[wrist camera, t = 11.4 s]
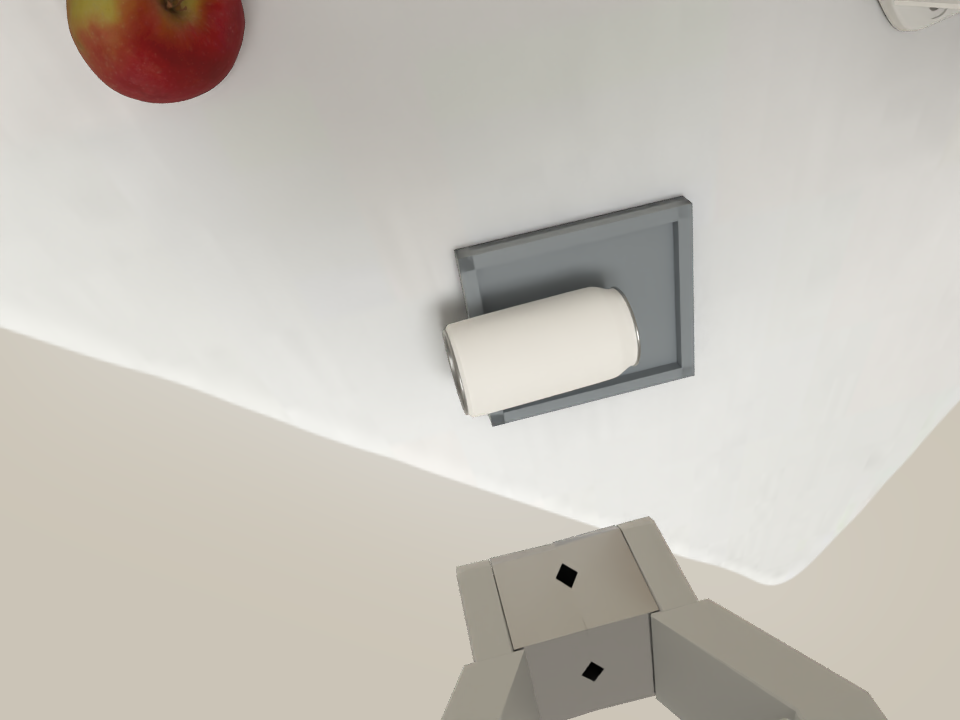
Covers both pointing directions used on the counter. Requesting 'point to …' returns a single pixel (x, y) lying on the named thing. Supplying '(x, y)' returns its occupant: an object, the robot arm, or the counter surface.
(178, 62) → the apple
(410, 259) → the counter surface
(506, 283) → the tray
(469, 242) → the counter surface
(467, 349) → the can
